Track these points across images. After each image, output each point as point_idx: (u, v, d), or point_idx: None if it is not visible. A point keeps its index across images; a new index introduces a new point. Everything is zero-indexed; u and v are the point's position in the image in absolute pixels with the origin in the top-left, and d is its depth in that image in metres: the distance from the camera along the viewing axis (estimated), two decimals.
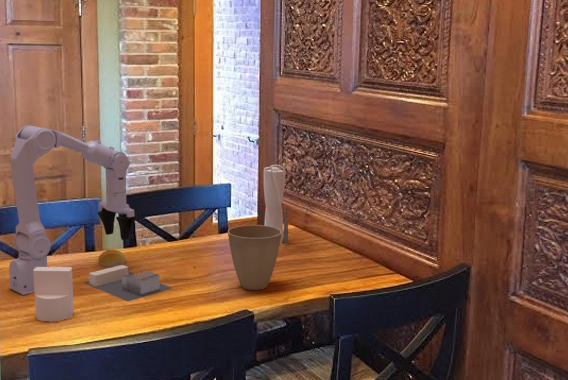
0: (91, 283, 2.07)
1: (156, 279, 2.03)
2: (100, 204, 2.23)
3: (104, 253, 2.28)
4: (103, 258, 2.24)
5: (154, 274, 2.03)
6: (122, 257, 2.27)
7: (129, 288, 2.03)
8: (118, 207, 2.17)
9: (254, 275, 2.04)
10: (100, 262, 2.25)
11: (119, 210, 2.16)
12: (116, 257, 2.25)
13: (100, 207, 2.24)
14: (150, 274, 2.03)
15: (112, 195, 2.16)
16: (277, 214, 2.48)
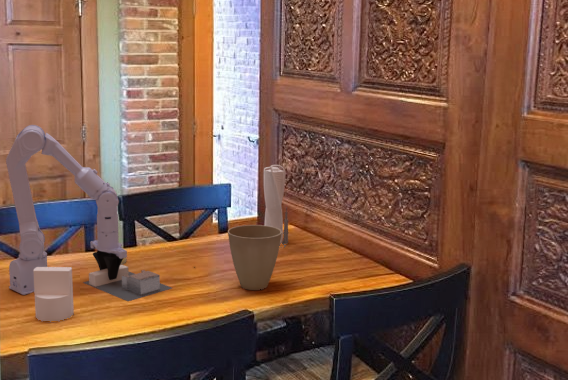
0: (91, 283, 2.07)
1: (156, 279, 2.03)
2: (91, 243, 2.12)
3: None
4: None
5: (154, 274, 2.03)
6: None
7: (129, 288, 2.03)
8: (110, 247, 2.06)
9: (254, 275, 2.04)
10: None
11: (111, 251, 2.05)
12: None
13: (91, 246, 2.13)
14: (150, 274, 2.03)
15: (103, 235, 2.05)
16: (277, 214, 2.48)
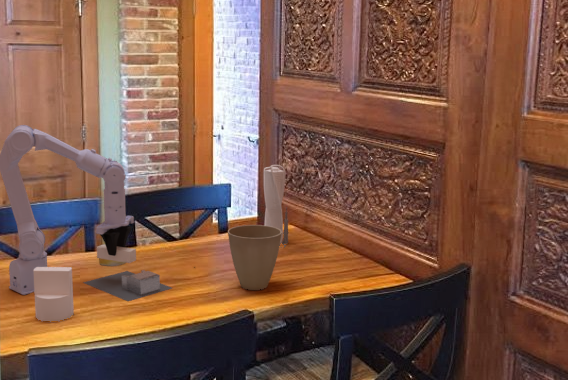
0: None
1: (156, 279, 2.03)
2: None
3: None
4: None
5: (154, 274, 2.03)
6: None
7: (129, 288, 2.03)
8: (105, 222, 2.06)
9: (254, 275, 2.04)
10: (101, 262, 2.25)
11: None
12: None
13: None
14: (150, 274, 2.03)
15: (104, 208, 2.06)
16: (277, 214, 2.48)
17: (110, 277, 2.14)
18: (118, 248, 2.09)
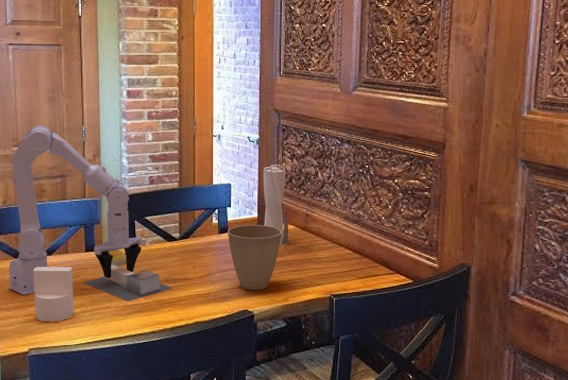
0: None
1: (156, 279, 2.03)
2: None
3: None
4: None
5: (154, 274, 2.03)
6: (123, 257, 2.27)
7: (129, 288, 2.03)
8: (107, 242, 2.08)
9: (254, 275, 2.04)
10: None
11: None
12: (117, 257, 2.25)
13: None
14: (150, 274, 2.03)
15: None
16: (277, 214, 2.48)
17: None
18: (120, 270, 2.10)
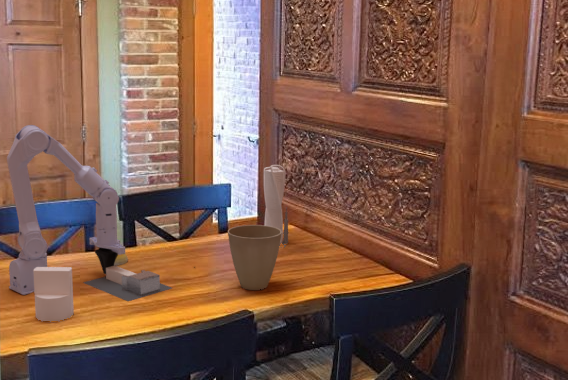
0: None
1: (156, 279, 2.03)
2: (90, 239, 2.16)
3: None
4: None
5: (154, 274, 2.03)
6: (124, 256, 2.27)
7: (129, 288, 2.03)
8: (108, 244, 2.10)
9: (254, 275, 2.04)
10: None
11: (109, 247, 2.09)
12: (118, 256, 2.25)
13: (90, 243, 2.16)
14: (150, 274, 2.03)
15: (102, 231, 2.09)
16: (277, 214, 2.48)
17: None
18: (123, 271, 2.09)
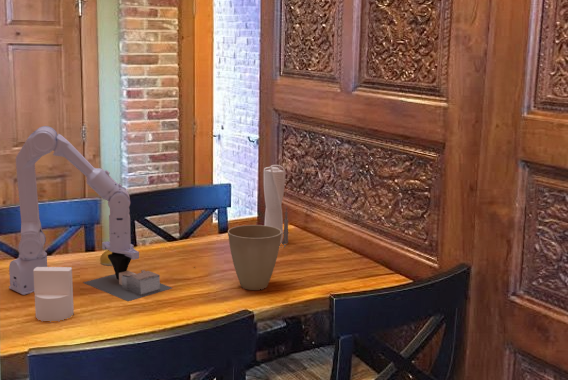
0: None
1: (156, 279, 2.03)
2: (103, 244, 2.12)
3: (106, 252, 2.28)
4: (105, 257, 2.25)
5: (154, 274, 2.03)
6: None
7: (129, 288, 2.03)
8: (122, 248, 2.06)
9: (254, 275, 2.04)
10: (102, 261, 2.25)
11: (123, 252, 2.05)
12: None
13: (103, 247, 2.12)
14: (150, 274, 2.03)
15: (115, 236, 2.05)
16: (277, 214, 2.48)
17: (110, 277, 2.14)
18: None
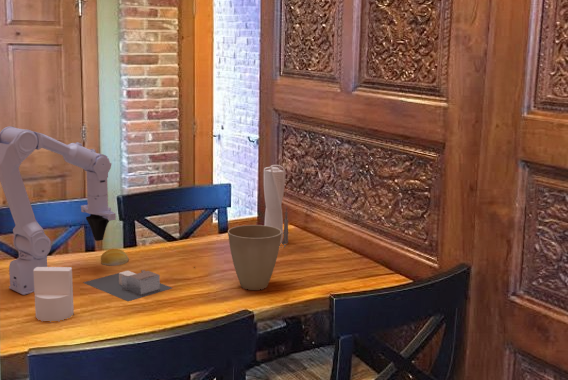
0: None
1: (156, 279, 2.03)
2: (82, 207, 2.21)
3: (106, 252, 2.29)
4: (106, 257, 2.25)
5: (154, 274, 2.03)
6: (124, 256, 2.27)
7: (129, 288, 2.03)
8: (99, 210, 2.14)
9: (254, 275, 2.04)
10: (103, 261, 2.25)
11: (100, 213, 2.13)
12: (118, 256, 2.26)
13: (82, 210, 2.21)
14: (150, 274, 2.03)
15: (93, 198, 2.13)
16: (277, 214, 2.48)
17: (110, 277, 2.14)
18: None
